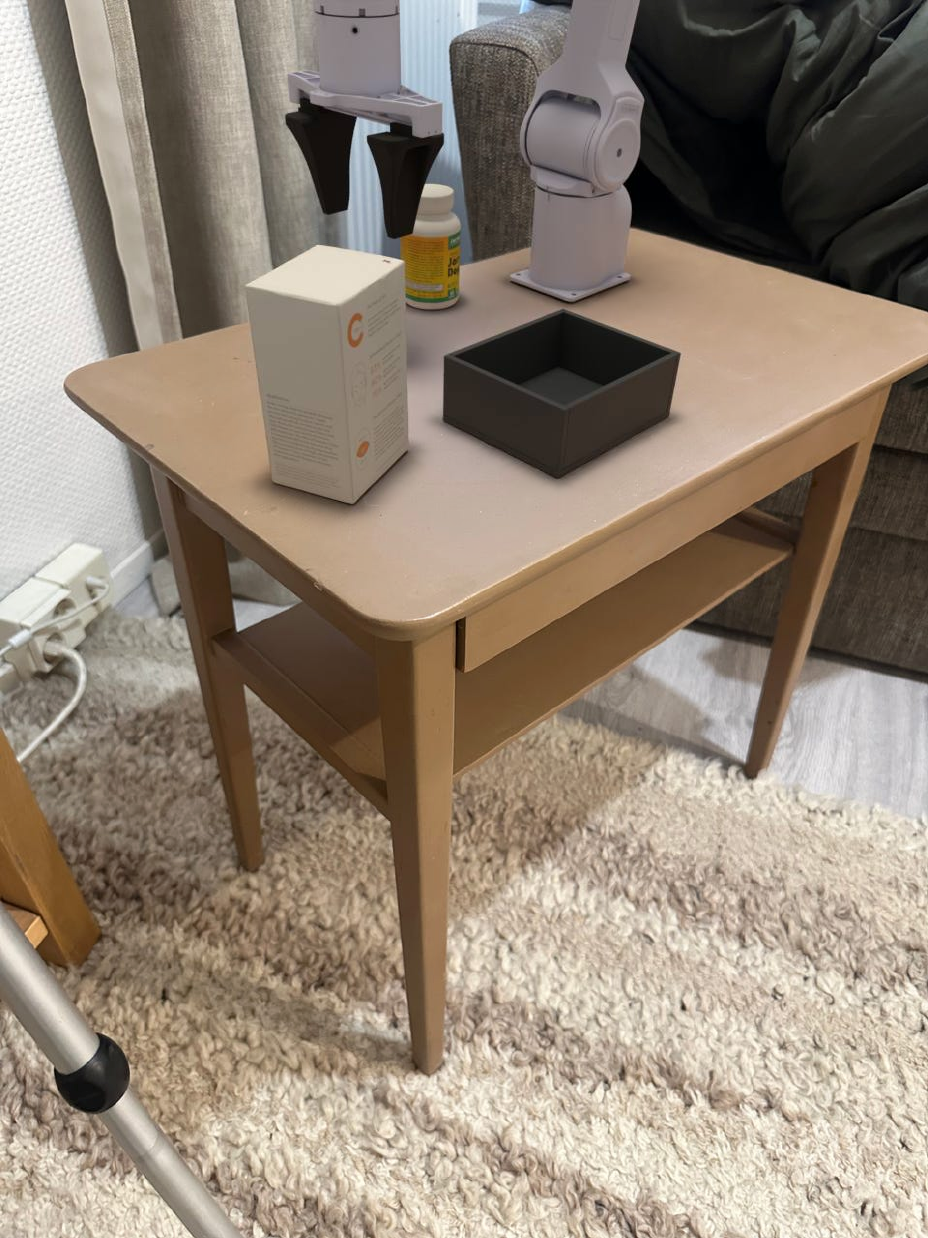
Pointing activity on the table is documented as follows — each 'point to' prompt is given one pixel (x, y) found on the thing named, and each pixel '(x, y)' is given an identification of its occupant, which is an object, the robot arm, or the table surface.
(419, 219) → the supplement bottle
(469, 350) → the open black bin
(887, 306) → the table surface
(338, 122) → the robot arm
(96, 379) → the table surface
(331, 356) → the small box
